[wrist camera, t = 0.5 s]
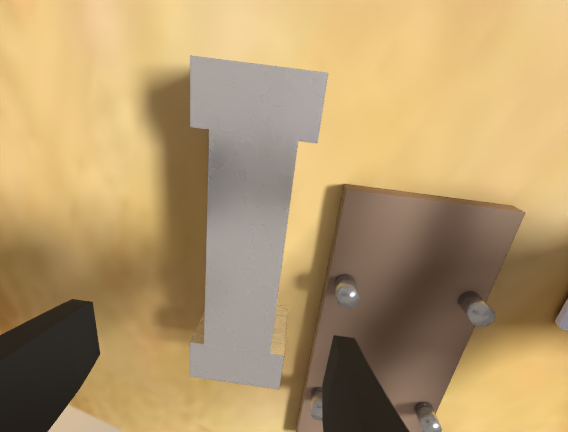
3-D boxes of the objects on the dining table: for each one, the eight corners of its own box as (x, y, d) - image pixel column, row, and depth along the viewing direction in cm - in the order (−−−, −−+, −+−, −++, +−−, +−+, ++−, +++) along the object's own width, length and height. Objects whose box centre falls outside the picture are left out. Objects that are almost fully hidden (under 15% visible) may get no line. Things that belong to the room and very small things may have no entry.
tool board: (512, 206, 16) (547, 224, 14) (410, 445, 24) (421, 483, 22) (344, 183, 16) (350, 198, 14) (295, 429, 24) (294, 465, 22)
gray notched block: (322, 77, 15) (328, 73, 11) (283, 336, 21) (279, 389, 17) (219, 64, 15) (190, 55, 11) (210, 326, 21) (189, 376, 17)
